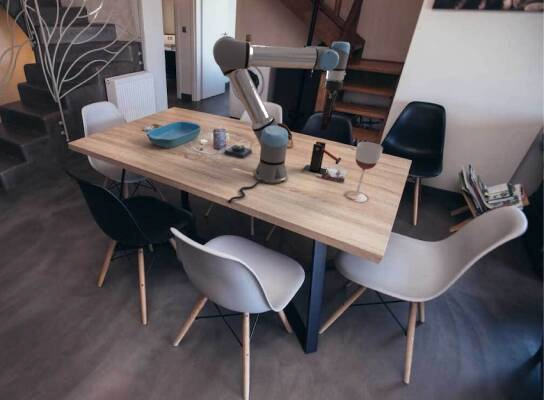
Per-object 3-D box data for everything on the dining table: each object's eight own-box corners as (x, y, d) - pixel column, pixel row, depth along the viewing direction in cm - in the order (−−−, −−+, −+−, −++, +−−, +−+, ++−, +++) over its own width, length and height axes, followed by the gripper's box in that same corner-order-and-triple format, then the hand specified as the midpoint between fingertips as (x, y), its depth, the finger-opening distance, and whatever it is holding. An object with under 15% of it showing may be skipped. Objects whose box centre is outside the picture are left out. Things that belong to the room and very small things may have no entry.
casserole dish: (168, 153, 172) (167, 140, 168) (140, 144, 183) (138, 133, 179) (207, 136, 198) (207, 125, 195) (181, 129, 209) (180, 119, 205)
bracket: (327, 171, 155) (333, 143, 147) (323, 177, 149) (329, 148, 141) (306, 166, 159) (311, 139, 152) (301, 172, 154) (305, 143, 146)
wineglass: (361, 191, 137) (375, 141, 126) (371, 202, 129) (387, 150, 117) (341, 191, 137) (353, 141, 125) (350, 202, 128) (364, 150, 117)
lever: (339, 161, 148) (342, 157, 147) (336, 165, 144) (339, 161, 142) (317, 145, 151) (319, 141, 149) (313, 149, 146) (316, 145, 145)
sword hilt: (296, 128, 194) (275, 119, 193) (300, 141, 173) (276, 130, 172) (288, 142, 199) (267, 133, 197) (292, 156, 178) (268, 146, 176)
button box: (243, 158, 167) (243, 151, 165) (224, 153, 173) (224, 147, 171) (251, 152, 175) (252, 146, 173) (233, 148, 180) (233, 142, 178)
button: (239, 149, 169) (239, 146, 169) (233, 147, 171) (233, 144, 170) (243, 146, 172) (243, 144, 172) (237, 145, 174) (237, 142, 173)
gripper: (340, 85, 128) (330, 134, 139) (345, 77, 148) (336, 120, 159) (322, 83, 131) (313, 132, 141) (329, 75, 150) (321, 118, 161)
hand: (325, 126), depth 150 cm, fingers open, 13 cm apart
